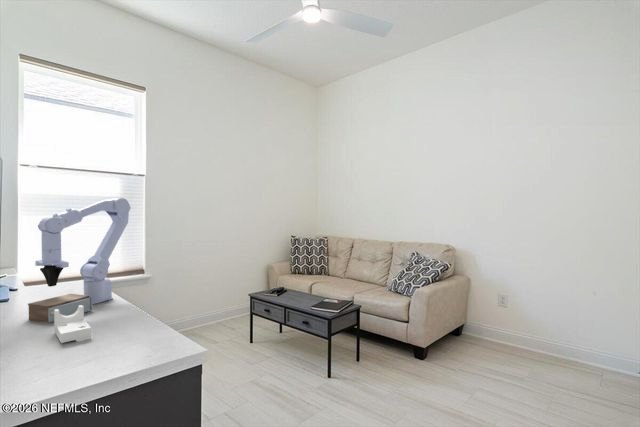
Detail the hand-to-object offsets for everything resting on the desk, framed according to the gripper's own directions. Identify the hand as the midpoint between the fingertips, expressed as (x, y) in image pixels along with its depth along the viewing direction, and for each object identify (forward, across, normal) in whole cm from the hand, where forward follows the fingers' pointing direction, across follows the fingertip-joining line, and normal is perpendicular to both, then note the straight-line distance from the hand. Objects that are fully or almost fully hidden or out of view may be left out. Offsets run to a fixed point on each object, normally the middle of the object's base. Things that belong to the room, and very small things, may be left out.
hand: (52, 285), depth 128 cm
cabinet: (+9, +8, -3) cm, 12 cm away
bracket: (+10, +32, -16) cm, 37 cm away
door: (+9, +13, -3) cm, 16 cm away
